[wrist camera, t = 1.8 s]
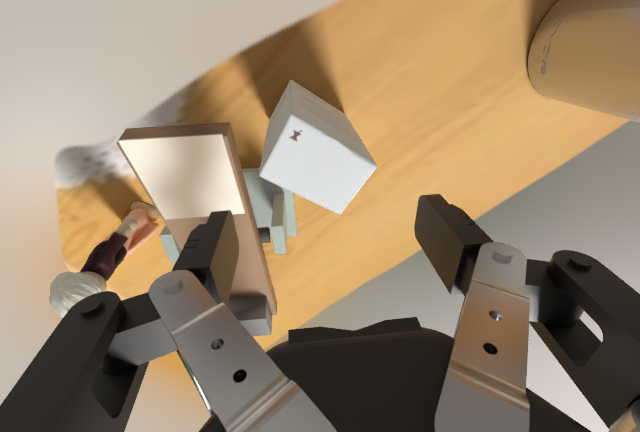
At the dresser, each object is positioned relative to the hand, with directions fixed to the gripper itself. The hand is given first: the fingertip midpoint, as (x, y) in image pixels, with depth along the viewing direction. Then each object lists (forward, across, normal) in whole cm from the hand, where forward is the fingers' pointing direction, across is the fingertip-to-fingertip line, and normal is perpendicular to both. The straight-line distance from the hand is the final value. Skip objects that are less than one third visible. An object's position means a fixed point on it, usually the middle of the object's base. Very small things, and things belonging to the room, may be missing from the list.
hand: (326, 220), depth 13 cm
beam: (+11, +8, +8) cm, 16 cm away
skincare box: (+18, 0, 0) cm, 18 cm away
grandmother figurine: (+18, +18, +9) cm, 27 cm away
